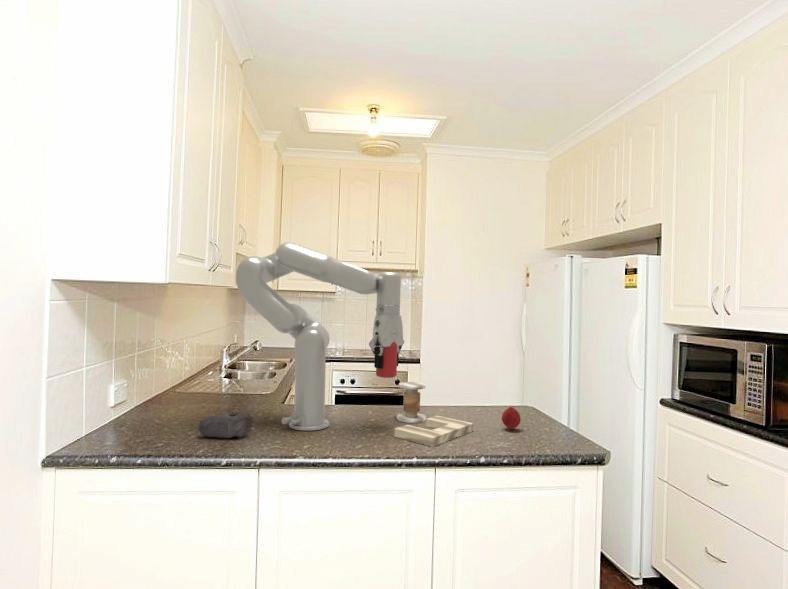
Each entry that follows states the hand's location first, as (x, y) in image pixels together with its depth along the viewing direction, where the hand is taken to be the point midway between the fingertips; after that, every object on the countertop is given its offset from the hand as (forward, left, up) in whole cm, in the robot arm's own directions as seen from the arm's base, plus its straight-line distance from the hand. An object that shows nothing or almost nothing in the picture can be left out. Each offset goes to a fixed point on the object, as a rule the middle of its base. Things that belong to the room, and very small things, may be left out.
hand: (386, 366), depth 154 cm
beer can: (0, 0, -3) cm, 3 cm away
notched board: (+5, -16, -19) cm, 25 cm away
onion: (+26, -31, -20) cm, 45 cm away
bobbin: (+14, 0, -19) cm, 24 cm away
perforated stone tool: (-41, +26, -20) cm, 52 cm away
